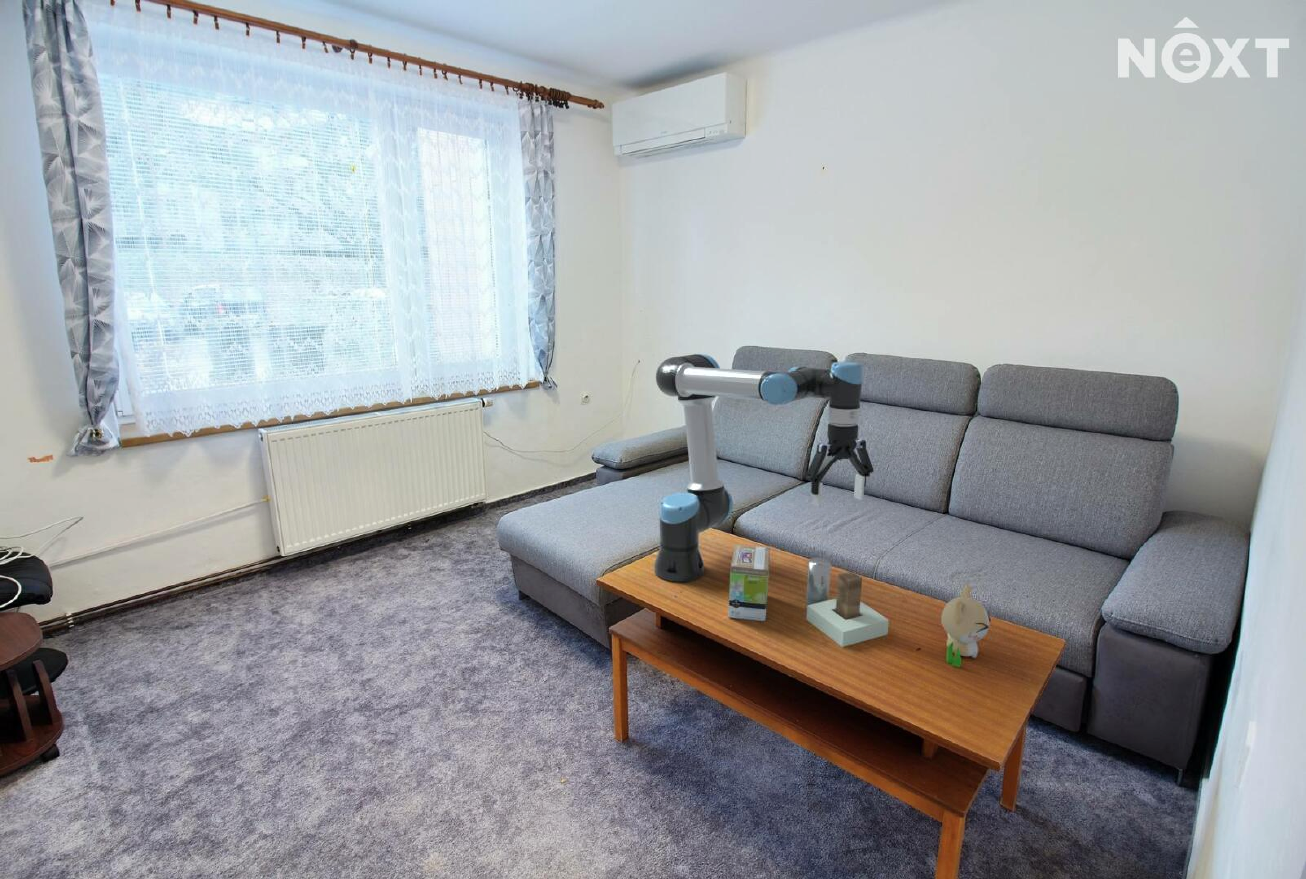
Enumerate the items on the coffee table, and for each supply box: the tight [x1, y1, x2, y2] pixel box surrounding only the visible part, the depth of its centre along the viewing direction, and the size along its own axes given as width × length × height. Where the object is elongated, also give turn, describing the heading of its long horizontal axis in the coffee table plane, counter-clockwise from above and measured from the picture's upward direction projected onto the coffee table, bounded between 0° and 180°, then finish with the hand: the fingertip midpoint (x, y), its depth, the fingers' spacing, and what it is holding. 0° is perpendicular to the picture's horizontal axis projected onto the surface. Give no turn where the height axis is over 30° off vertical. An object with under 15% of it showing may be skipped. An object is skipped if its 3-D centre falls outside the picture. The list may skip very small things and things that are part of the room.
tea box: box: [728, 544, 771, 622], centre depth 165 cm, size 15×10×15 cm
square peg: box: [836, 571, 863, 620], centre depth 154 cm, size 4×4×14 cm
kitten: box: [940, 584, 992, 668], centre depth 143 cm, size 15×10×15 cm, turn 143°
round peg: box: [805, 557, 832, 605], centre depth 167 cm, size 6×6×12 cm
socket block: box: [805, 597, 890, 648], centre depth 156 cm, size 14×14×4 cm
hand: (837, 502), depth 162 cm, fingers open, 13 cm apart
